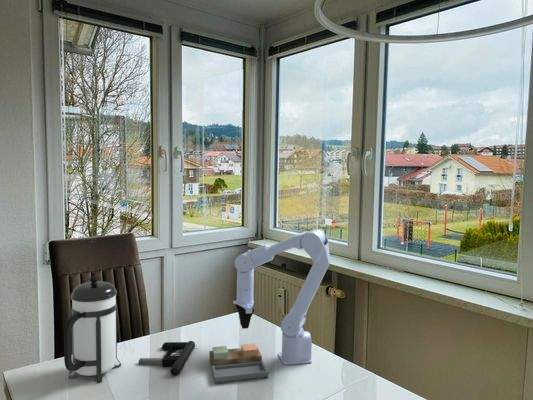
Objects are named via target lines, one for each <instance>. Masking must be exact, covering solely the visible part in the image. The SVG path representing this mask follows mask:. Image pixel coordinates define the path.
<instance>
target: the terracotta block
mask: <svg viewBox="0 0 533 400" xmlns="http://www.w3.org/2000/svg"><path fill="white" fill-rule="evenodd" d="M240 348H241V351H242V354H243V356H244V357H246V356H257V355H258V349H259V348H258V346H257V345H256V343H246V344H245V343H244V344H241V345H240ZM257 348H258V349H257Z"/></svg>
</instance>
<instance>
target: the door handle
mask: <svg viewBox="0 0 533 400" xmlns="http://www.w3.org/2000/svg"><path fill="white" fill-rule="evenodd" d="M161 349H162V351H167V352H166V353H165V355H164V356H163V357H158V358H157V357H153V358H152V357H145V358H144V357H143V358H141V357H140V358H139V360H138V365H141V366H155V367H158V366H159V367H162V368H170V375H171V376H174V377H177V376H178V375H179V374H180V373H181V371H183V369H184V368H185V367H186V365H187V364H188V362H189V361H190V359H191V357H192V352H193V351H194V350H195V349H198V348H196V342H195V341H193V340H189V341H176V342H173V341H170V342H168V341H166V342H164V343H163V344H162V346H161ZM174 351H175V353H176V354H177V353H180V354H179V355H172V354H173V353H174Z"/></svg>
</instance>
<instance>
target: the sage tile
mask: <svg viewBox="0 0 533 400" xmlns="http://www.w3.org/2000/svg"><path fill="white" fill-rule="evenodd" d="M227 349H228V347H227V345H222V346H212V349H211V351H212V354H213V358H214V360H215V359H225V358H228V350H227Z"/></svg>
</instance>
